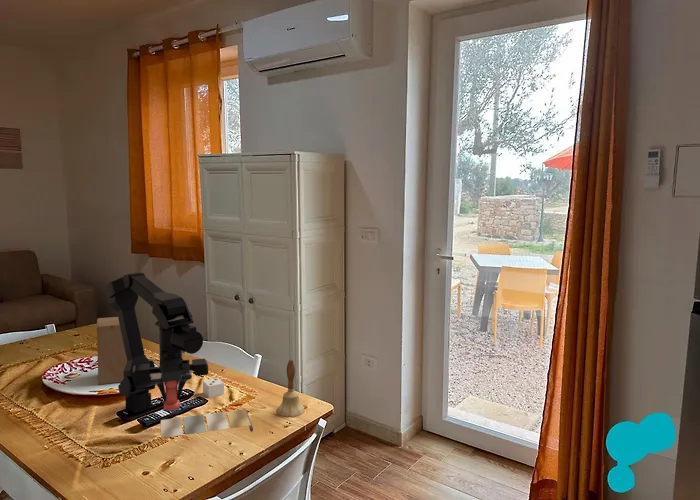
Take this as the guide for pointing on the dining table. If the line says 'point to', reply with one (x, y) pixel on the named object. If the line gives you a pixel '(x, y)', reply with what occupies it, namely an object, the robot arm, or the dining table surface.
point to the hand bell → (290, 396)
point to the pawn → (171, 396)
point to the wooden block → (110, 351)
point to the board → (198, 425)
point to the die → (213, 387)
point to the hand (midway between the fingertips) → (171, 400)
